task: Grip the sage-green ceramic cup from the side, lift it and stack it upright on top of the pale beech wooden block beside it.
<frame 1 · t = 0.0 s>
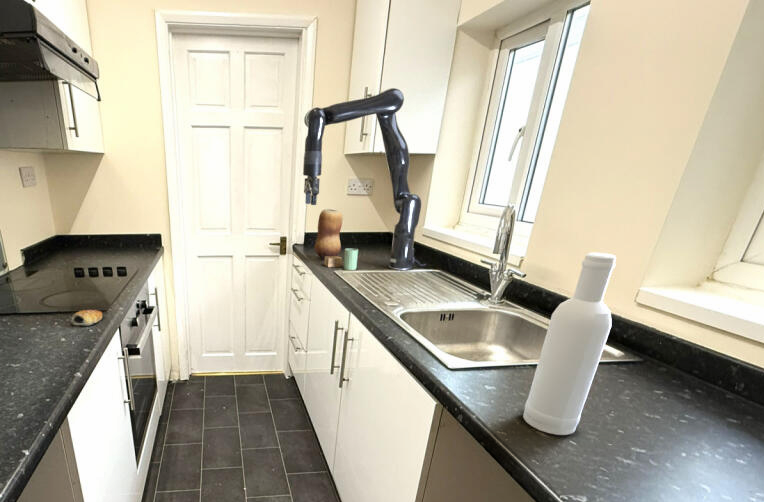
hand: (310, 204, 176), 29 cm above the counter, tool pointing down, fingers open, 8 cm apart
butternut squash: (326, 259, 215), on the counter
block: (333, 265, 200), on the counter
bottle: (547, 423, 73), on the counter
cup: (349, 268, 193), on the counter
pastry: (87, 322, 123), on the counter
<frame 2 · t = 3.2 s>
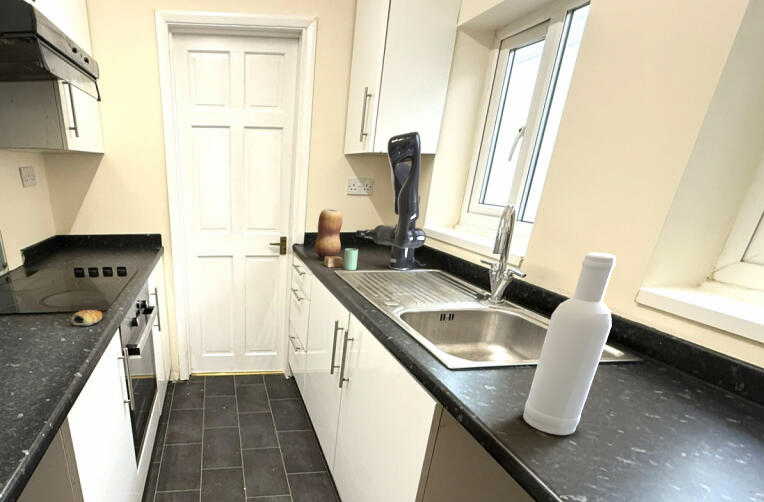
hand: (366, 232, 177), 18 cm above the counter, tool horizontal, fingers open, 8 cm apart
nothing on the counter moved.
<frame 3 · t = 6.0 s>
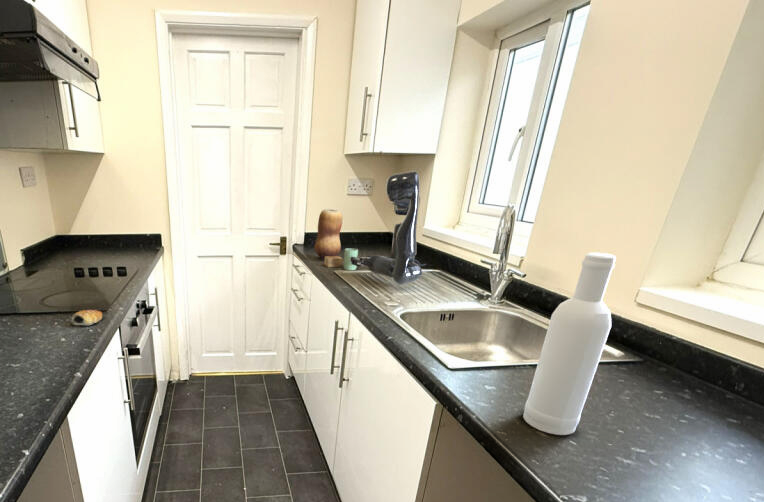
hand: (359, 258, 184), 6 cm above the counter, tool horizontal, fingers open, 8 cm apart
nothing on the counter moved.
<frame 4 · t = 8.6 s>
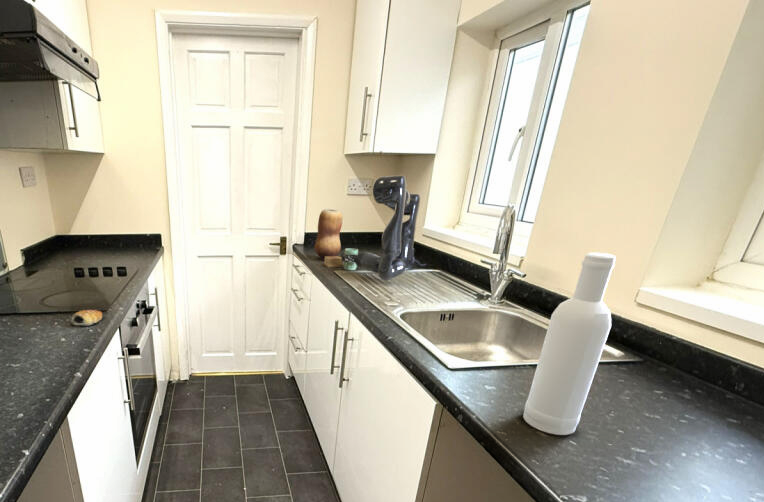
hand: (348, 255, 193), 6 cm above the counter, tool horizontal, fingers closed on cup, 6 cm apart
cup: (349, 268, 193), on the counter, touching gripper
everything else where it was.
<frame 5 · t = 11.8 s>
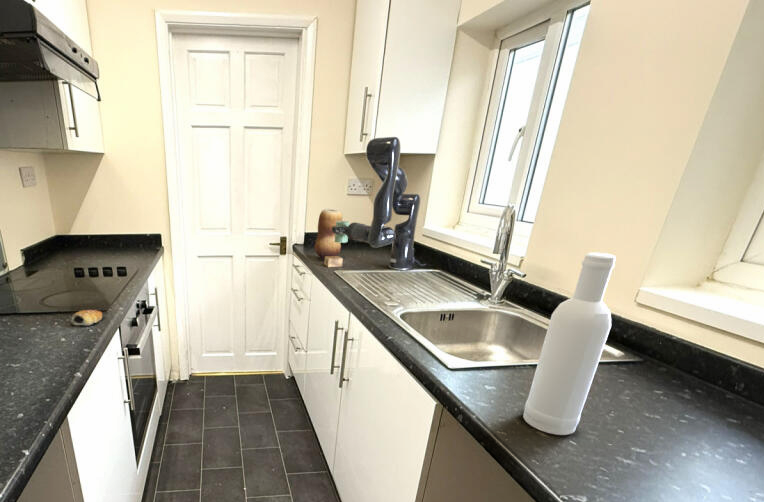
hand: (339, 228, 192), 18 cm above the counter, tool horizontal, fingers closed on cup, 6 cm apart
cup: (341, 241, 193), point 12 cm above the counter, touching gripper
everything else where it was.
when the fingers open (10 cm above the counter, at t = 15.0 s): cup stays where it is, resting on block.
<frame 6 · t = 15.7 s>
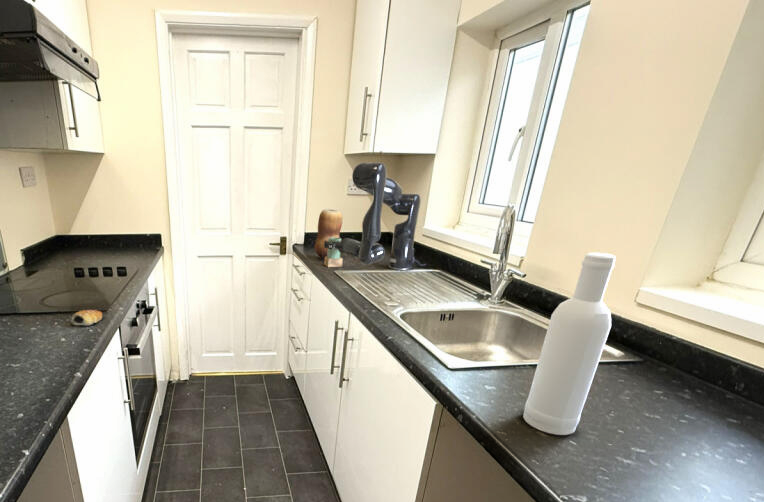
hand: (332, 242, 197), 11 cm above the counter, tool horizontal, fingers open, 8 cm apart
cup: (333, 257, 198), point 4 cm above the counter, touching block
everything else where it was.
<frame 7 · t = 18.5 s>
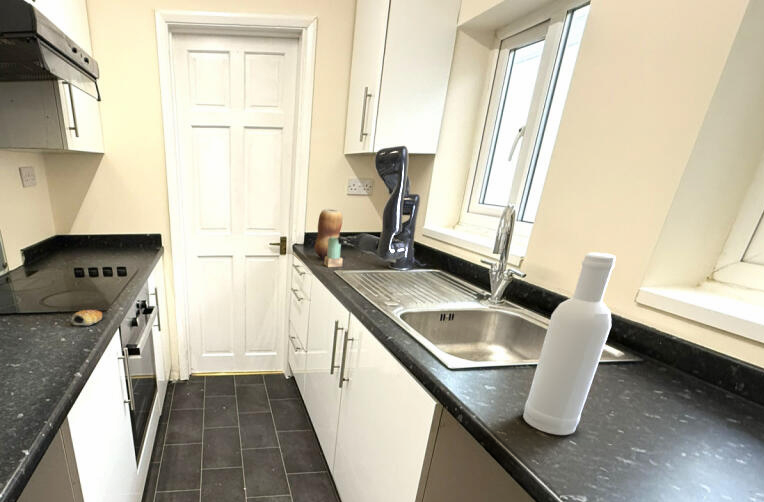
hand: (347, 238, 185), 14 cm above the counter, tool horizontal, fingers open, 8 cm apart
nothing on the counter moved.
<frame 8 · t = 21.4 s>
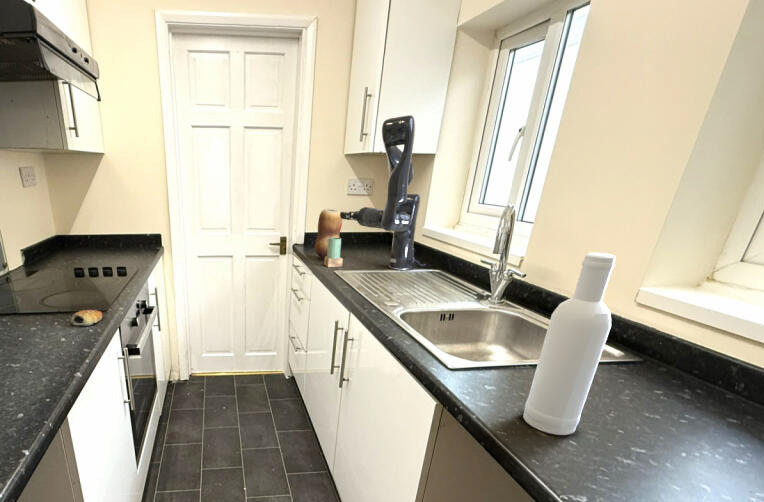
hand: (349, 214, 180), 25 cm above the counter, tool horizontal, fingers open, 8 cm apart
nothing on the counter moved.
at the end: cup 0.1 cm off-centre on the block, point 4.0 cm above the block's base; cup tilted 0°; the gripper is holding nothing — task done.
